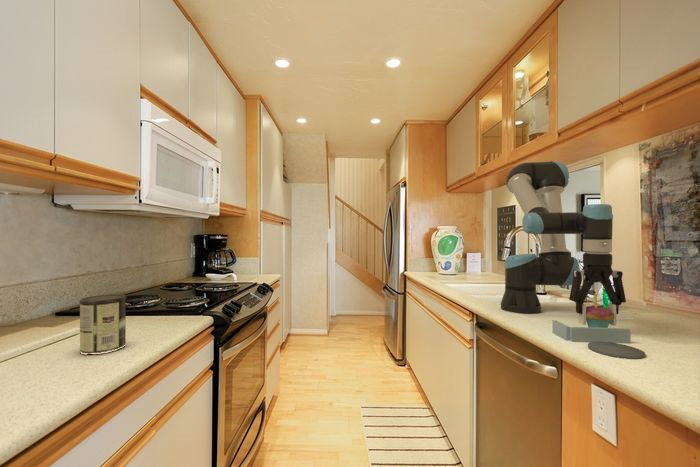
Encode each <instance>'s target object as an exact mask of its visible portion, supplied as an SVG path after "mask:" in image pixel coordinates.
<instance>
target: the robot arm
mask: <svg viewBox="0 0 700 467" xmlns="http://www.w3.org/2000/svg"><path fill="white" fill-rule="evenodd" d="M569 179H570V173H569V170H568V166H566V164H565V163H563V162H562V161H554V160H550V161H539V162H538V161H537V162H536V161H533V162H523V163H519V164H517V165H515V166H514V167H512V168H511V170H510V171H509V172H508V173H507V175H506V178H505V184H506V188H507V190H508V191H509V192H510V193H512V194H513V195H514V197H515V200H516V202H517V203H518V205H519V207H520V208H521V211H522V212H523V216H522V224H521V226H522V229H523V232H525V234H529V235H540V237H541V238H540V240H541V248H542V249H541V251H539V253H538V256H537V255H536V253H522V254H521V253H520V254H512V255H508V256H507V257H505V260H504V293H503V296H502V299H501V301H500V309H502V310H504V311H506V312H513V313H518V314H539V313H541V312H542V305H541V303H540V300H539V297H538V294H537V286H559V287H562V286H571V289H570V293H569V301H571V302H574V303H575V312H576V314H578V324H580V325H583V326H587V322H586V307H587V304H585V303H584V302H585V301H586V299H587V296H588V295H589V292H590V290H591V288H592V286H593V285H594V284H595V283H600V284H601V285H602V286H603V288H604V291H605V294H606V295H607V297H608V300H609V301H610V302H607V309H608V310H611V311H612V313H613V314H614V319H613V320H612V321H611V322H610V323H609V325H611V326H615V327H617V315H618V314H619V310H620V309H619V308H620V307H619V306H621V305H622V303H626V302H627V299H626V294H625V290H624V289H625V288H624V284H623V280H622V279H623V271H622V270H621V271H620V270H613V269H612V266H613V255H612V252H613V224H614V223H613V222H614V221H613V218H614V215H613V207H612V205H611V204H609V203H608V204H607V203H595V204H591V203H590V204H586V205H584V206H583V208H582V211H580V212H579V211H578V212H577V211H573V212H572V211H571V212H570V211H569V212H567V211H566V212H563V206H562V204H563V203H562V197H561V196H562V195H561V194H562V193H563V192H564V191H565V188H566V187H567V186H568V184H569ZM566 235H582V251H583V252H584V253H582V264H583V267H582V269H580V264H579V261H578V259H577V258H576V257H575V256H574V257H573V256H572V252H571V251H570V250H569V249H567V244H566V242H567V241H566ZM583 277H584V279H583ZM610 277H612V280H611V279H610ZM582 280H583V283H582ZM612 285H613V286H612Z"/></svg>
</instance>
